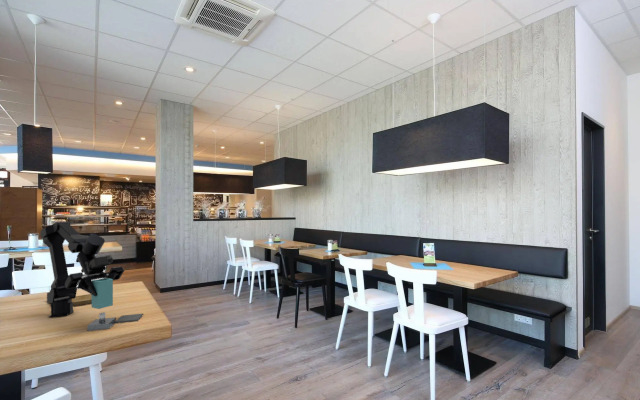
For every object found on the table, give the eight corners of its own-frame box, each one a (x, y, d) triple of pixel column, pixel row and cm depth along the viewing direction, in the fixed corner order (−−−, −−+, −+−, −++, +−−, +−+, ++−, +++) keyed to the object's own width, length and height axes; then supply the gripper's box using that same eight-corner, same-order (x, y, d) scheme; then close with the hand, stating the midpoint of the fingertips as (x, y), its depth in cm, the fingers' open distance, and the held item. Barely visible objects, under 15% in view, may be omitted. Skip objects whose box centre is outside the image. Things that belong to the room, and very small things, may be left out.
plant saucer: (57, 309, 148) (57, 303, 148) (71, 300, 162) (71, 295, 162) (93, 305, 152) (93, 300, 152) (105, 297, 166) (105, 292, 166)
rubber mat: (115, 323, 124) (115, 321, 124) (121, 317, 132) (121, 315, 132) (137, 320, 126) (137, 319, 126) (143, 314, 134) (143, 313, 134)
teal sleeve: (91, 307, 120) (91, 280, 121) (105, 303, 125) (105, 278, 125) (98, 308, 118) (98, 281, 118) (112, 305, 122) (112, 279, 123)
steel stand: (87, 330, 117) (87, 317, 117) (95, 324, 123) (95, 311, 124) (109, 328, 119) (109, 315, 119) (115, 322, 125) (115, 309, 125)
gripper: (68, 252, 116) (83, 285, 110) (121, 246, 132) (137, 275, 126) (58, 272, 120) (72, 305, 114) (111, 264, 136) (126, 293, 130)
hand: (104, 294), depth 121 cm, fingers closed on teal sleeve, 5 cm apart
